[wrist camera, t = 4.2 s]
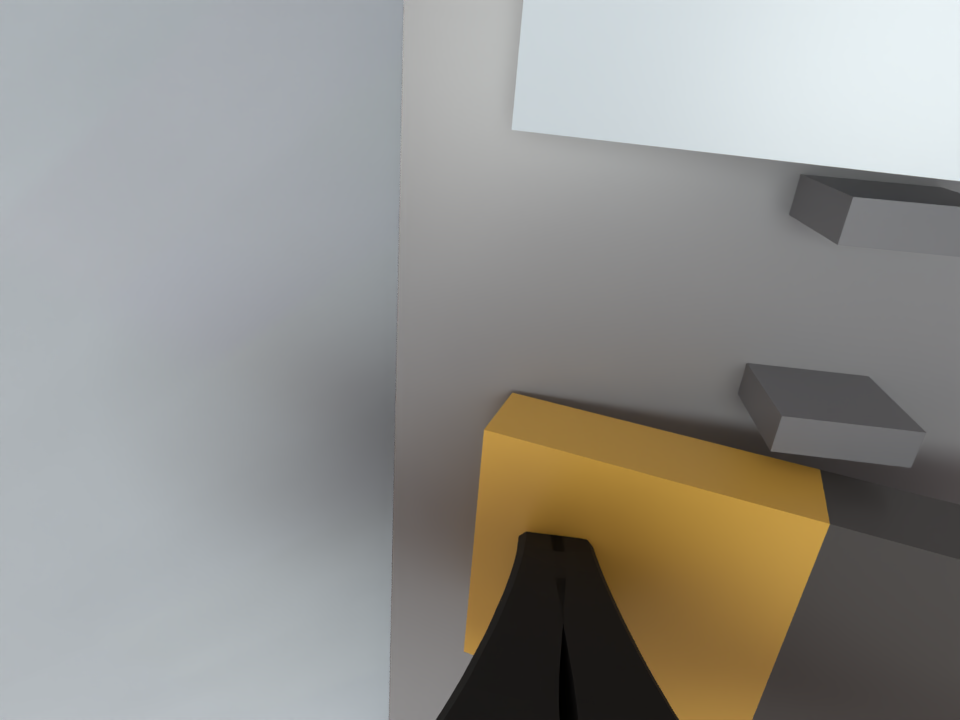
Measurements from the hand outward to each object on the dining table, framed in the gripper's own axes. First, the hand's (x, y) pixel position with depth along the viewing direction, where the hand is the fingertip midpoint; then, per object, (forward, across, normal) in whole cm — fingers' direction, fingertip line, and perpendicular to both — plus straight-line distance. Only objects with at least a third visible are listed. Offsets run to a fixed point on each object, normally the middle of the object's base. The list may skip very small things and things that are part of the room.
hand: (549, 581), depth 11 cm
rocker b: (+1, -4, 0) cm, 4 cm away
